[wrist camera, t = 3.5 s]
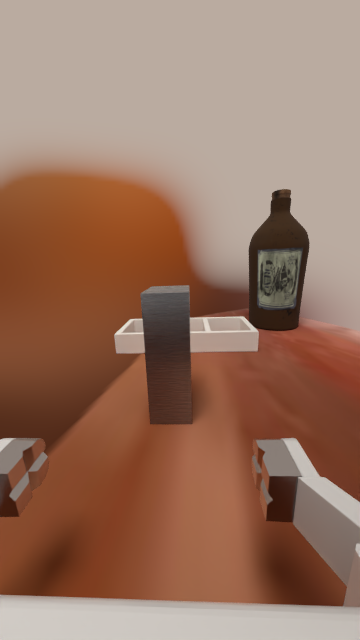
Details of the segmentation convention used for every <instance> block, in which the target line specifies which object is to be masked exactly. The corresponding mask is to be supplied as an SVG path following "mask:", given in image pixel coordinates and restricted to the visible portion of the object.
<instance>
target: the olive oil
mask: <svg viewBox="0 0 360 640" xmlns="http://www.w3.org/2000/svg"><path fill="white" fill-rule="evenodd" d="M290 195H291V190H288V189H282V190H277V191H275V192H273V193H272V201H271V214H270V216H269V217H268V219H267V220H266V221H265V222H264V223H263V224H262V225H261V226H260V228H259V229H258V230H257V231H256V232H255V234H254V235H253V237H252V239H251V242H250V246H249V323H250V324H251V325H252V326H254V327H257V328H261V329H267V330H290V329H294V328H296V327H297V326H298V321H299V313H300V305H301V298H302V291H303V284H304V277H305V271H306V264H307V258H308V252H309V239H308V235H307V232H306V230H305V229H304V228H303V227H302V226H301V225H300V224H299V223H298V221H297V220H296V219H295V218H294V217H293V216H292V215H291V213H290V205H291V198H290Z"/></svg>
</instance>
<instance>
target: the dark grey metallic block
mask: <svg viewBox="0 0 360 640" xmlns="http://www.w3.org/2000/svg"><path fill="white" fill-rule="evenodd" d="M189 305H190V304H189V286H160V287H159V286H156V287H151V288H149V289H147V290H146V291H144V292H142V293H141V306H142V319H143V332H144V346H145V359H146V372H147V386H148V399H149V412H150V424H192V389H191V347H190V306H189Z"/></svg>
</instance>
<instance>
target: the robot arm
mask: <svg viewBox="0 0 360 640" xmlns="http://www.w3.org/2000/svg"><path fill="white" fill-rule="evenodd" d="M45 448H46V446H45V443H44V440H42V439H31V438H29V439H28V438H4V439H1V440H0V517H19V516H20V515H21V513H22V512H23V510H24V509H25V507H26V506H27V504H28V503H29V501H30V500H31V499H32V491H33V490H34V489H36V488H37V487H39V486H40V485H41V484H42V482H43V480H44V479H45V477H46V474H47V471H48V467H49V461H48V456H47V455H46V454H45V453H44V452H43V451H44V449H45ZM253 451H254V454H255V455H254V456H253V457H252V472H253V478H254V482H255V486H256V488H257V489H258V490H259V491H260V503H261V506H262V509H263V512H264V516H265V519H266V521H275V522H293V525H294V526H295V527H296V528H297V529H298V530H299V532H300V533H301V534H302V535H303V536H304V537H305V538H306V540H307V541H308V542H309V543H310V544H311V545H312V547H313V548H314V549H315V550H316V551H317V552H318V554H319V555H320V556H321V557H322V558H323V559H324V560H325V562H326V563H327V564H328V565H329V566H330V567H331V569H332V570H333V571H334V572H335V573H336V574H337V576H338V577H339V578H340V579H341V580H342V581H343V582H344V584H345V585H346V586H347V591H346V595H345V600H344V605H343V607H341V606H312V605H284V604H255V603H226V602H197V601H168V600H139V599H110V598H80V597H50V596H20V595H0V640H360V502H358V501H357V500H356V499H354V498H353V497H351V496H350V495H349V494H347V493H346V492H344V491H343V490H342V489H340V488H339V487H338V486H336V485H335V484H333V483H332V482H331V481H329V480H328V479H326V478H325V477H320V476H319V474H318V473H317V471H316V470H315V468H314V466H313V465H312V463H311V462H310V460H309V458H308V457H307V455H306V453H305V452H304V450H303V449H302V447H301V445H300V444H299V442H298V440H296V439H295V438H281V439H254V440H253Z"/></svg>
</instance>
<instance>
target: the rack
mask: <svg viewBox="0 0 360 640" xmlns="http://www.w3.org/2000/svg"><path fill="white" fill-rule="evenodd" d="M114 336H115V345H116V353H145V346H144V332H143V319H130V320H129V321H128V322H127V323H126V324H125V325H124V326H123V327H122V328H121V329H120V330H119V331H118V332H117V333H116V334H115V335H114ZM258 336H259V332H258V331H257V330H256V329H255V328H254V327H253V326H252V325H251V324H250V323H249V322H248V321H247V320H246V319H245V318H244V317H204V318H190V347H191V352H239V351H258Z"/></svg>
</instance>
